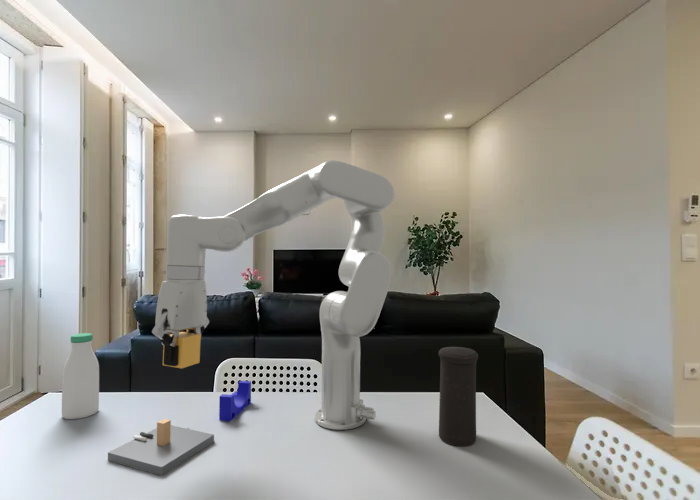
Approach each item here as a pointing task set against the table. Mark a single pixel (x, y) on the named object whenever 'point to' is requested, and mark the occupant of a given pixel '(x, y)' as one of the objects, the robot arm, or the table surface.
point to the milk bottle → (80, 379)
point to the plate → (161, 448)
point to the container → (457, 396)
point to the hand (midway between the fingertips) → (181, 360)
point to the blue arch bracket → (235, 401)
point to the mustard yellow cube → (187, 349)
